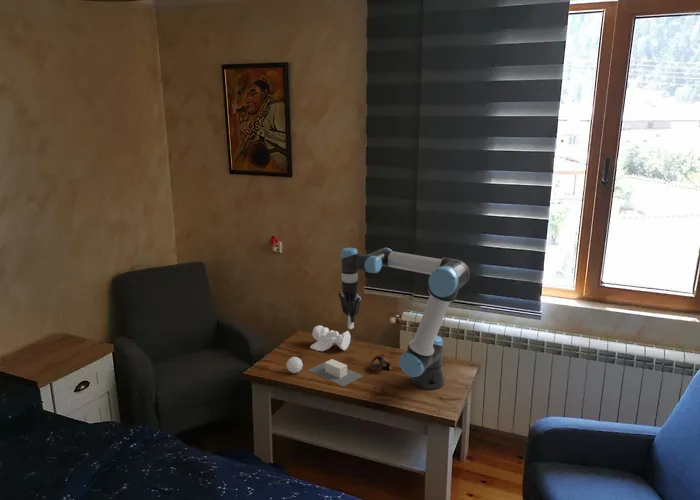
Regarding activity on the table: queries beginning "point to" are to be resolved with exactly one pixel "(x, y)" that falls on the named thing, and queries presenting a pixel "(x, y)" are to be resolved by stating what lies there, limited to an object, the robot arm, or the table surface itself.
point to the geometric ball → (294, 364)
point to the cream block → (336, 368)
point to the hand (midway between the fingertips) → (350, 328)
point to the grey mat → (342, 381)
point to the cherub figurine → (329, 339)
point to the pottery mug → (382, 361)
